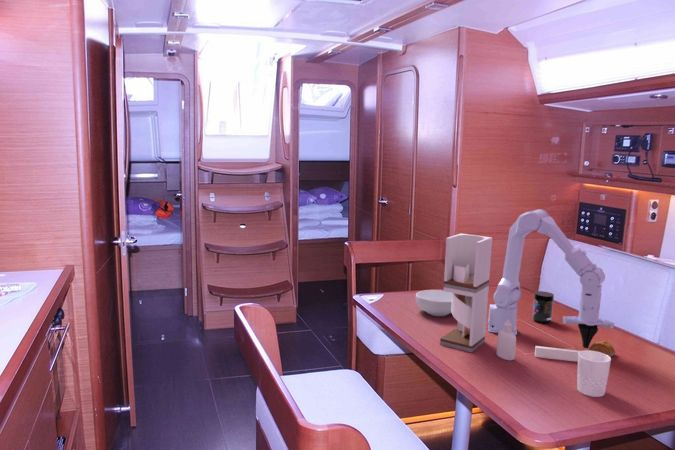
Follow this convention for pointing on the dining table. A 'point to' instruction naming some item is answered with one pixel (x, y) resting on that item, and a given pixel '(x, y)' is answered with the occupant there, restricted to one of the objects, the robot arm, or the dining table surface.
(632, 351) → the dining table surface
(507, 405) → the dining table surface
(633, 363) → the dining table surface
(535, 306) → the supplement container
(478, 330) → the display case
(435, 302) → the cereal bowl
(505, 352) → the eye dropper bottle
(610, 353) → the pastry
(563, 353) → the white rectangular bar
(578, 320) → the robot arm
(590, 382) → the white cup
